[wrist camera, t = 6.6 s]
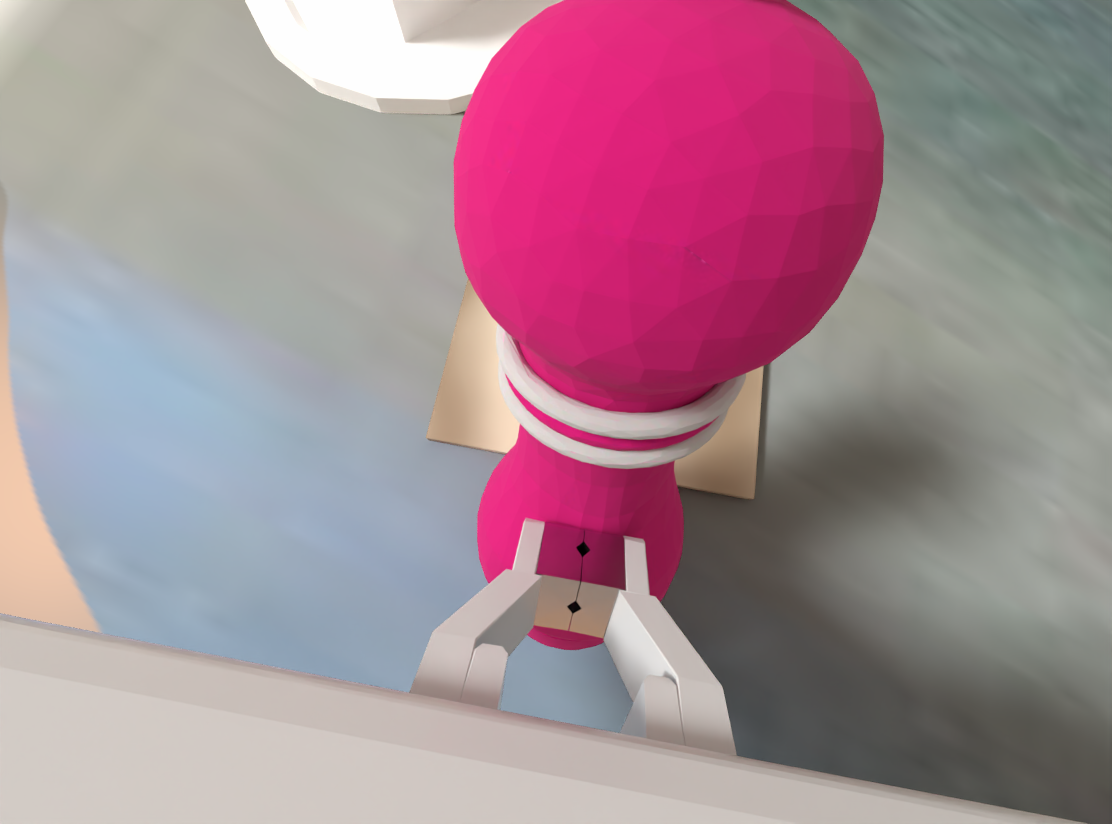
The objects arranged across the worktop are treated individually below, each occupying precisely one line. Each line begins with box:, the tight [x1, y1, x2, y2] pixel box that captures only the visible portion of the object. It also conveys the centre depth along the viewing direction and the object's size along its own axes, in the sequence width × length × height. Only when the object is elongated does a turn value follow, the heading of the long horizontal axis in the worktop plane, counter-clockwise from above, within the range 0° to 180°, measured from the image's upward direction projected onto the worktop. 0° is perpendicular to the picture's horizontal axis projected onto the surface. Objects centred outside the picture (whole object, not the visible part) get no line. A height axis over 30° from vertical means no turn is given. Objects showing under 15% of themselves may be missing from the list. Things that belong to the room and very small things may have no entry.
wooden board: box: [426, 278, 763, 500], centre depth 24 cm, size 16×20×1 cm
